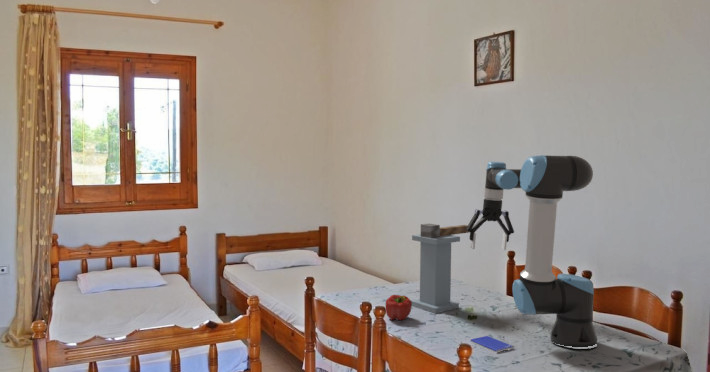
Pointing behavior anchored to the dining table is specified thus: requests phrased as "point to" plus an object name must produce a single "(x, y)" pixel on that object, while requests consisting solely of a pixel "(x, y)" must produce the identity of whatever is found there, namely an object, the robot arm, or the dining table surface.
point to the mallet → (441, 230)
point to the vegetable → (398, 307)
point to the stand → (435, 273)
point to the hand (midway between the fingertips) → (488, 248)
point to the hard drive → (491, 344)
